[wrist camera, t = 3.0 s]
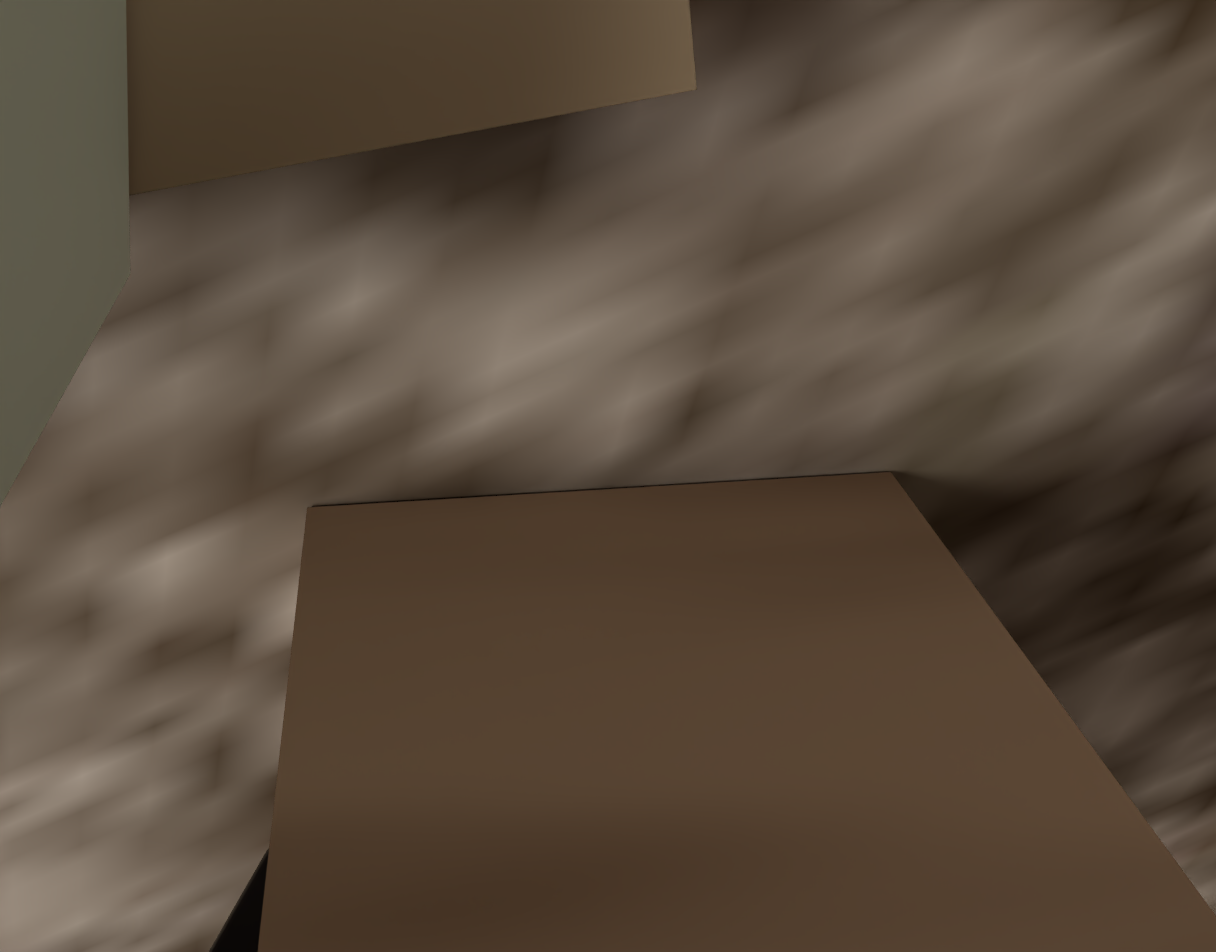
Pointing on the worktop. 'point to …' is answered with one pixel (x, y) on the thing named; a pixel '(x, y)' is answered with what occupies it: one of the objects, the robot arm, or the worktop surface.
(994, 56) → the worktop surface
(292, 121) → the maple slab
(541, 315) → the worktop surface
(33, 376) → the sage slab
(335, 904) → the walnut block
